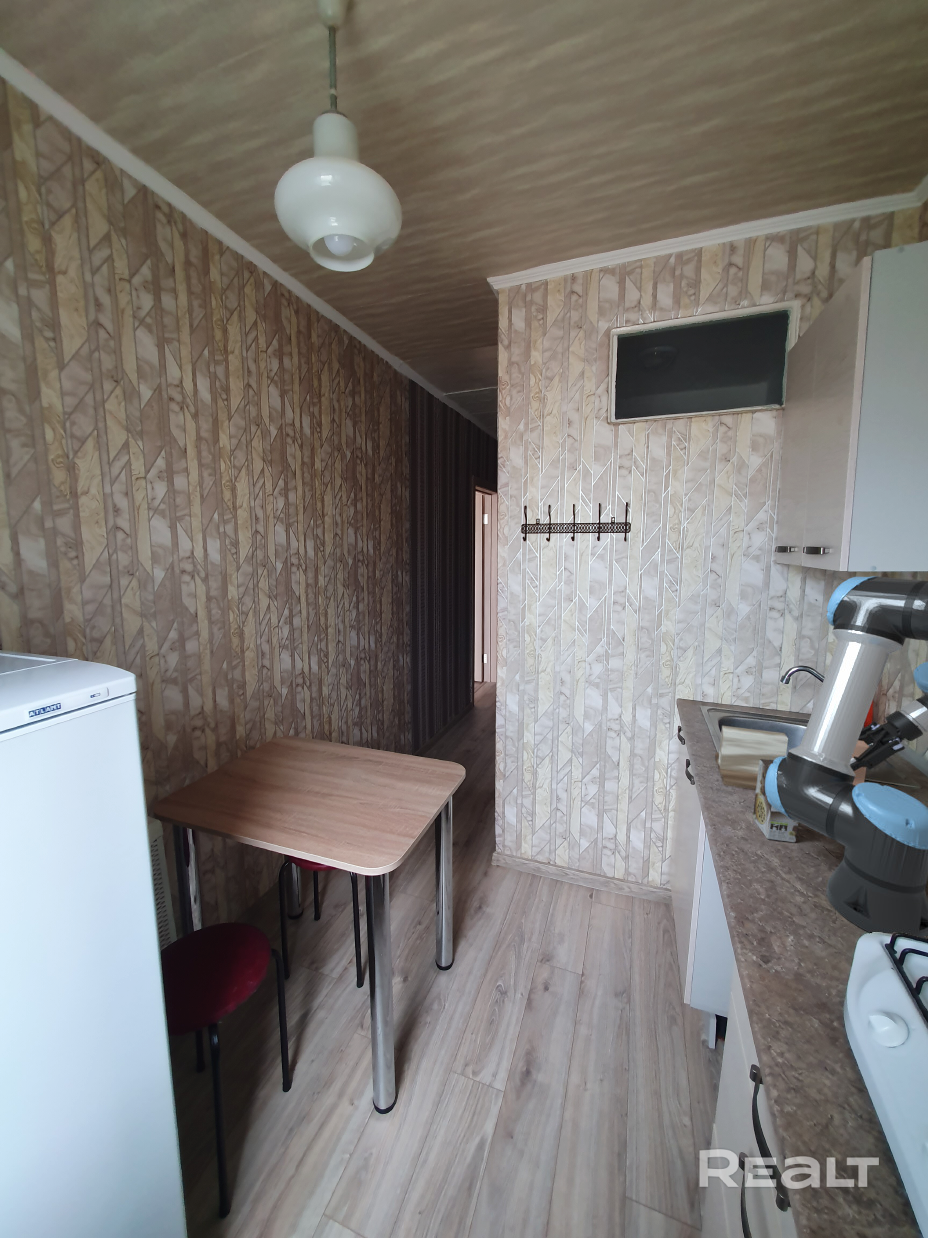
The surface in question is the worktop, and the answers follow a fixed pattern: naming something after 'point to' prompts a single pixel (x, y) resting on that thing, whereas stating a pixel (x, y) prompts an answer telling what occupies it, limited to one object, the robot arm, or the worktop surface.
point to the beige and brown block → (747, 754)
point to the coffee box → (771, 811)
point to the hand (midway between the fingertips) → (829, 768)
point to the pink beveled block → (860, 772)
